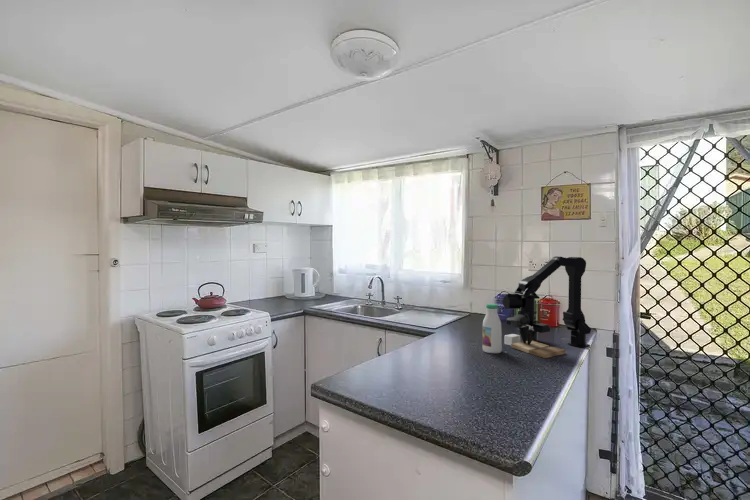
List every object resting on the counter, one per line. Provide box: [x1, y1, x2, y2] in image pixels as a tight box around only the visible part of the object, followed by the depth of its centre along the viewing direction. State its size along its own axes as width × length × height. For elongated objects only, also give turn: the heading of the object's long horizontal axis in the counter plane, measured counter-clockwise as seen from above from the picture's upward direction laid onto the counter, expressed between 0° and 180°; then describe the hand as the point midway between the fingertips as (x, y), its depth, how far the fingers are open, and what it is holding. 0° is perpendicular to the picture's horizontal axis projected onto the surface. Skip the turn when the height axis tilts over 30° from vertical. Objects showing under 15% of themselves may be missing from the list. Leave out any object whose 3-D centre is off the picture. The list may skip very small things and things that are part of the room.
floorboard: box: [529, 346, 566, 359], centre depth 146 cm, size 13×7×2 cm, turn 118°
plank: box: [510, 341, 550, 354], centre depth 154 cm, size 13×9×2 cm
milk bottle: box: [482, 303, 503, 354], centre depth 150 cm, size 8×8×20 cm
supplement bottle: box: [528, 314, 539, 342], centre depth 167 cm, size 7×7×12 cm
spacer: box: [503, 333, 521, 347], centre depth 162 cm, size 6×4×4 cm, turn 121°
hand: (526, 343), depth 155 cm, fingers closed on plank, 2 cm apart
